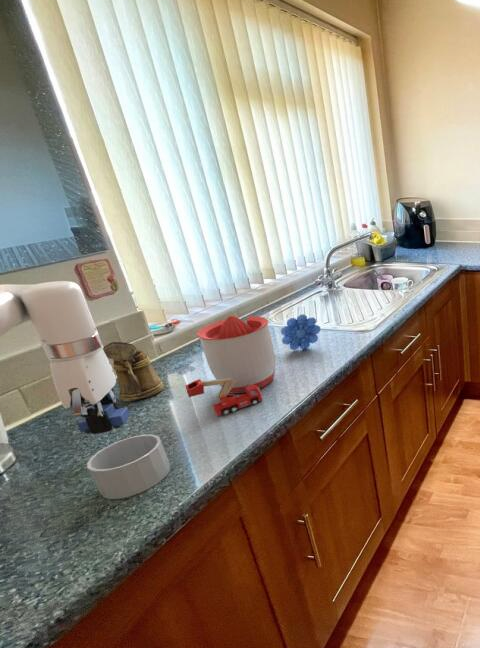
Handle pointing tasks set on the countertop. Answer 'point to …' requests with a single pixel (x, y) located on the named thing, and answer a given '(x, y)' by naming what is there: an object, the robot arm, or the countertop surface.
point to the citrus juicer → (239, 351)
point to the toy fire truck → (226, 395)
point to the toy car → (115, 417)
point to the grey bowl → (129, 466)
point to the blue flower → (300, 332)
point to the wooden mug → (133, 372)
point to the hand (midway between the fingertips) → (107, 425)
